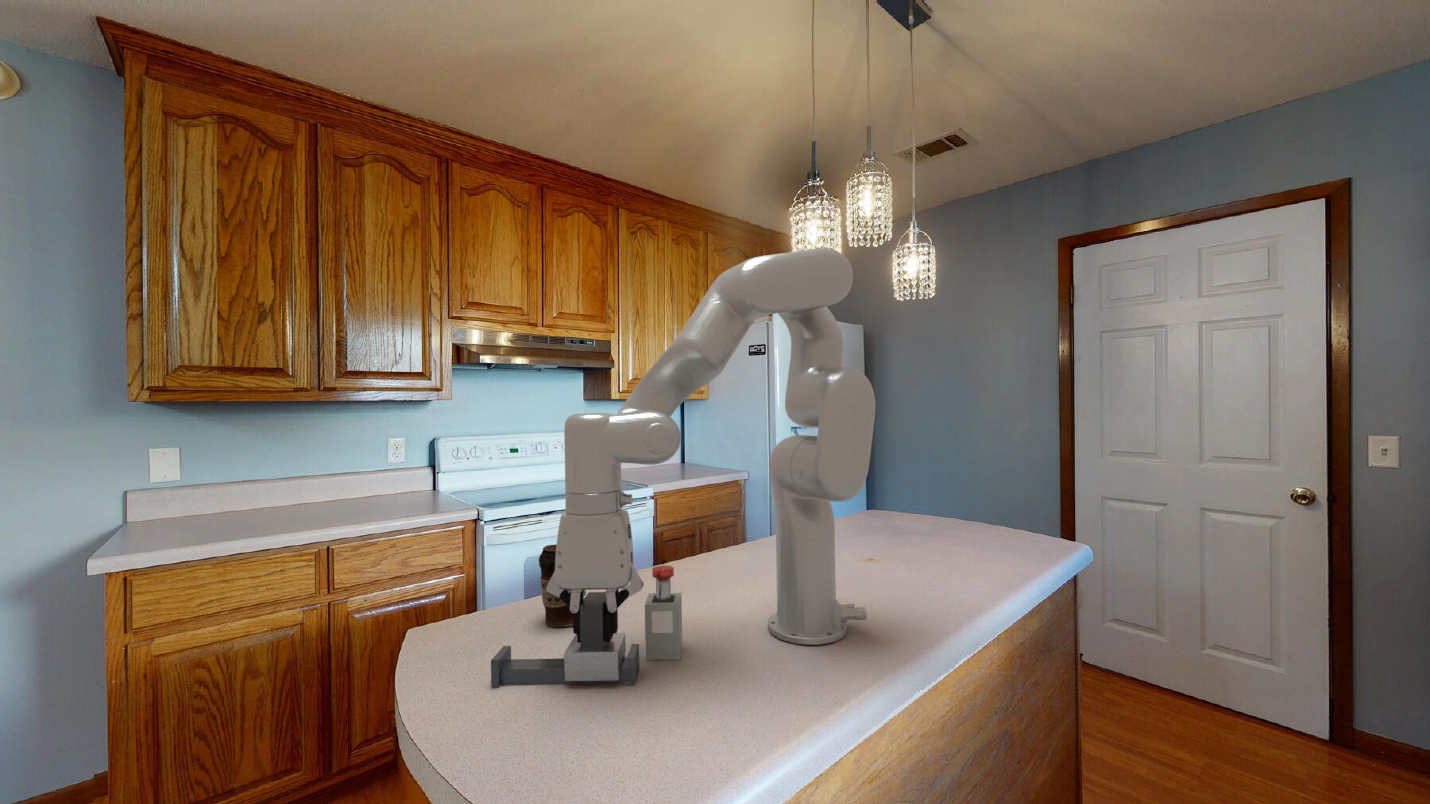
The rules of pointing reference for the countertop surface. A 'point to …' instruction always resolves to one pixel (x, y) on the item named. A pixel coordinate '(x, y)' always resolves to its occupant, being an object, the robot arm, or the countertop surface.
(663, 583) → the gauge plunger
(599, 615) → the carriage
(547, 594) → the coffee cup
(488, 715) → the countertop surface
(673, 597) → the grey square housing
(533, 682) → the rail
